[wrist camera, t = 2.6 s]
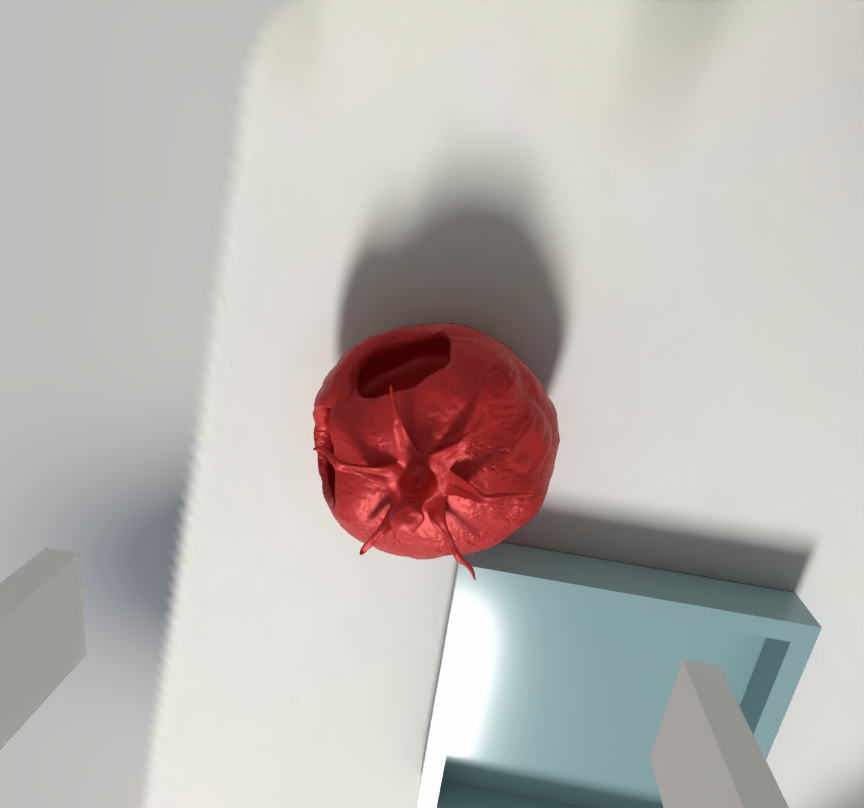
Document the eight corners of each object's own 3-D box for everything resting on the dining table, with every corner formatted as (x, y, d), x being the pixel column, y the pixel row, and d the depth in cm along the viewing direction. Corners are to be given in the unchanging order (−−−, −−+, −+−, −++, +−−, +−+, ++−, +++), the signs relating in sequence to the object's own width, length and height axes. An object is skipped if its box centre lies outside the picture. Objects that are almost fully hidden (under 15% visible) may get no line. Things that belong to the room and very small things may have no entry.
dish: (462, 535, 30) (459, 564, 27) (795, 592, 29) (821, 627, 27) (421, 775, 35) (415, 817, 33) (701, 830, 34) (716, 876, 32)
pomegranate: (592, 404, 27) (646, 502, 19) (448, 546, 30) (435, 690, 21) (423, 257, 26) (395, 288, 17) (289, 422, 29) (204, 522, 20)
